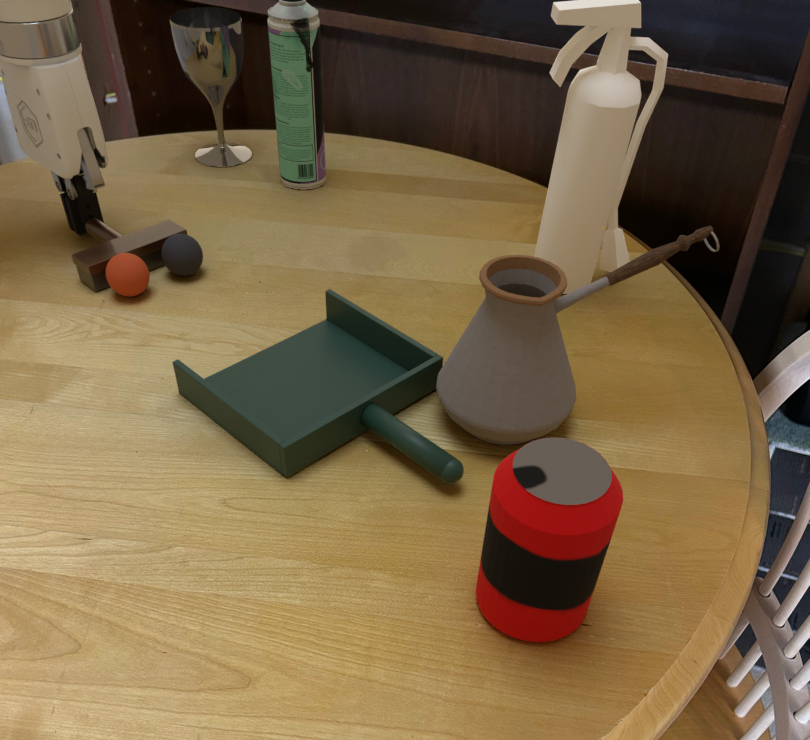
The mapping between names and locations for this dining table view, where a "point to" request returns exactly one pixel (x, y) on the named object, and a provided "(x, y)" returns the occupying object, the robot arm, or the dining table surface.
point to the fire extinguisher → (595, 139)
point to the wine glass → (212, 69)
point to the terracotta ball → (127, 274)
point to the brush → (121, 249)
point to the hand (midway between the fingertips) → (87, 228)
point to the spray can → (298, 93)
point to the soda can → (546, 538)
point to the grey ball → (182, 254)
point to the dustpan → (325, 392)
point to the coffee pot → (525, 346)
